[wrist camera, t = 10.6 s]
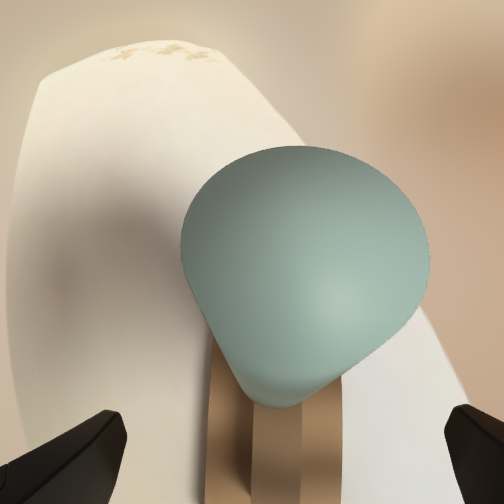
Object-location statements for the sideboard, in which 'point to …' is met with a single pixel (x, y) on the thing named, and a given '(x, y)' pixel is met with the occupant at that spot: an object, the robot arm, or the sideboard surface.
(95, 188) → the sideboard surface
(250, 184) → the dowel
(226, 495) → the ridge stand
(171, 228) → the sideboard surface
